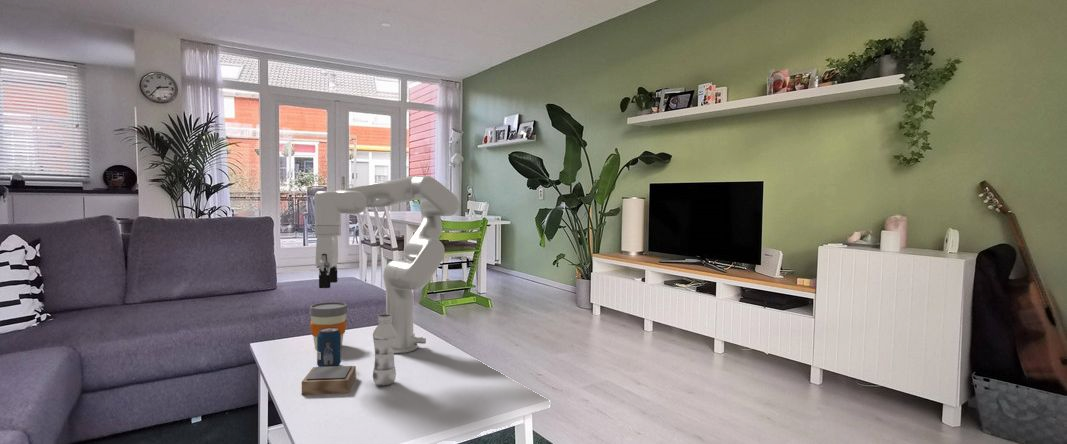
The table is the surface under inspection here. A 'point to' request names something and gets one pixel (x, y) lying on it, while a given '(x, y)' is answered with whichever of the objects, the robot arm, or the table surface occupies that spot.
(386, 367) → the plastic bottle
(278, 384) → the table surface
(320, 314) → the reusable coffee cup
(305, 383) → the walnut base
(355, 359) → the table surface
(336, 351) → the soda can
